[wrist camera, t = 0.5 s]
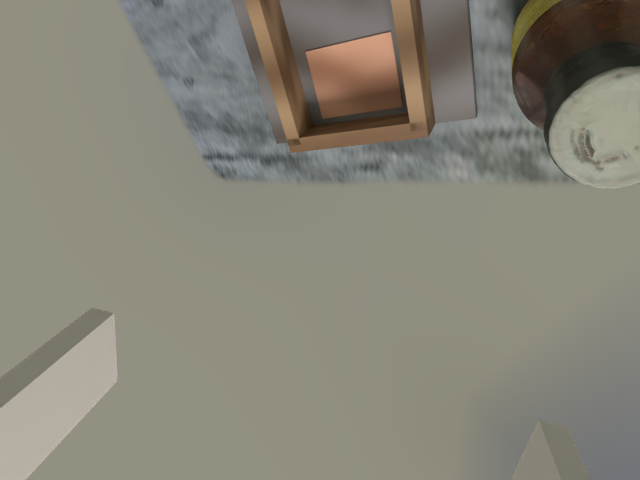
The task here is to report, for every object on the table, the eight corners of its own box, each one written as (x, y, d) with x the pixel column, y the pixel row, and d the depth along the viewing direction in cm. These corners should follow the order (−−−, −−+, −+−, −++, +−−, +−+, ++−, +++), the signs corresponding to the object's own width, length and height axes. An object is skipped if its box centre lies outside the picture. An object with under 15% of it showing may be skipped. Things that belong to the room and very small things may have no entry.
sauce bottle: (504, 73, 31) (474, 203, 16) (525, -29, 28) (510, 21, 13) (608, 78, 29) (682, 236, 14) (645, -31, 25) (795, 26, 11)
